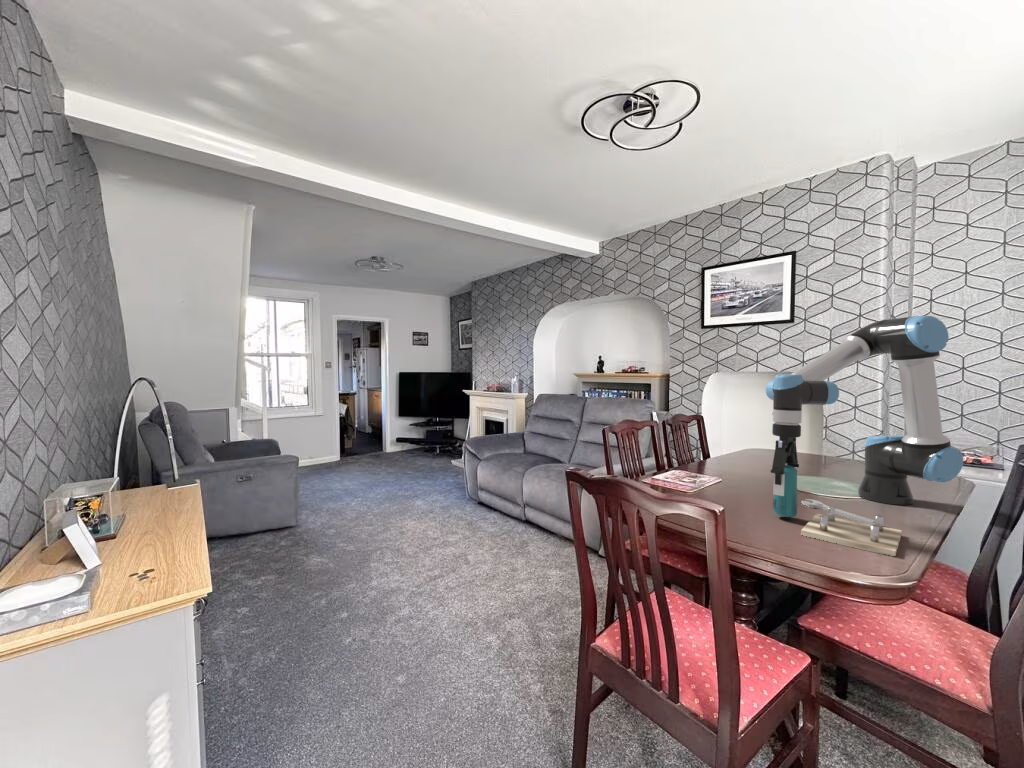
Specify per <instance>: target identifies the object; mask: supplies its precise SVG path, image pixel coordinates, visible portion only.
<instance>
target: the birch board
mask: <svg viewBox="0 0 1024 768" xmlns="http://www.w3.org/2000/svg"><path fill="white" fill-rule="evenodd" d="M820 515H821V514H819V513H816V514H814V516H812V518H811V519H810V520H809V521H808V522H807V523H806V524H805V526H803V528H802V529H801V530H800V536H801V535H803V536H802V537H806V536H807V538H810V537H811V539H814V538H816V539H815V540H819V539H820V541H823V540H824V541H823V542H827V541H828V543H832V544H836V543H837V544H836V545H841V546H846V547H849V548H853V547H854V549H858V550H862V551H863V550H864V551H867V552H870V553H871V552H872V553H876V554H879V553H880V555H884V554H886V555H885V556H888V555H890V557H892V556H897V553H898V550H897V549H899V546H900V543H901V538H902V534H903V533H902V532H903V531H902V530H901V529H897V528H891V527H887V526H883V532H880V531H879V542H878V543H876V542H872V541H870V525H871V524H866V523H862V522H859V521H856V520H852V519H845V518H841V517H836V516H835V522H831V521H828V531H821V530H820ZM899 542H900V543H899Z"/></svg>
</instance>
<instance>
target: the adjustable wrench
mask: <svg viewBox="0 0 1024 768" xmlns="http://www.w3.org/2000/svg"><path fill="white" fill-rule="evenodd" d="M801 503H802V504H803V505H806V506H808V507H807V508H809V507H811V508H810V509H815V508H819V509H818V510H821V509H823V510H822V511H825V510H827V511H826V512H828V507H831V506H829V505H827V504H824V503H823V502H821V501H819V500H816V499H809V498H805V499H804V500H801ZM802 504H801V505H802ZM803 505H802V506H803ZM806 506H805V507H806ZM834 508H835V515H837V514H838V515H837V516H840V515H841V517H843V516H844V518H848V519H849V520H852V521H856V522H861V523H866V524H871V525H875V519H871V518H868V517H864V516H861V515H858V514H855V513H851V512H849V511H845V510H843V509H839V508H836V507H834Z"/></svg>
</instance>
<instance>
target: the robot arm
mask: <svg viewBox="0 0 1024 768" xmlns="http://www.w3.org/2000/svg"><path fill="white" fill-rule="evenodd" d="M949 336H950V335H949V331H948V329H947V326H946V325H945V323H944V322H943V321H942V320H940V319H939V318H937V317H936V316H932V315H913V316H906V317H899V318H898V317H897V318H891V319H890V318H889V319H888V318H887V319H882V320H881V319H880V320H878V321H875V322H872V323H870V324H867V325H866V326H863V327H861V328H859V329H858V330H856V331H854V332H852V333H851V334H849V335H847V336H846V337H844V339H842V342H841V343H840V344H838V345H837V346H835V347H833V348H832V349H830V350H828V351H827V352H824V353H823V354H822V355H820V356H819V357H817V358H815V359H813V360H812V361H810V362H808V363H807V364H805V365H803V366H802V367H800V368H798V369H797V370H795V371H794V372H792V373H791V374H788V373H786V374H776V375H775V376H774V379H772V380H770V381H768V383H767V384H766V386H765V394H766V396H767V398H768V399H769V400H772V401H773V402H772V403H773V404H772V406H773V407H772V409H773V410H772V411H771V412H770V414H771V415H773V416H772V421H773V422H774V423H773V424H772V431H771V432H772V436H776V437H779V438H778V440H776V441H775V447H774V448H775V449H774V452H773V453H774V454H773V461H772V466H771V469H770V474H773V484H772V485H773V487H772V488H773V490H772V495H780V496H784V481H785V474H784V469H785V465H789V466H793V467H794V468H795V469H796V470H797V468H800V464H799V460H798V452H797V451H798V450H797V438H800V437H801V435H802V426H801V425H800V424H801V423H802V417H803V416H802V415H803V414H802V413H803V412H802V411H803V409H802V408H803V407H802V406H803V405H812V406H813V405H817V406H818V405H821V406H826V405H832V404H834V403H836V402H837V401H838V399H839V397H840V389H839V387H838V385H837V384H836V383H835V382H834V381H828V380H827V379H829V378H830V377H832V376H834V375H835V374H837V373H839V372H840V371H842V370H844V369H845V368H847V367H849V366H851V365H852V364H853V363H855V362H857V361H863V360H866V359H868V358H870V357H873V356H876V355H883V354H890V360H891V361H892V362H894V363H895V364H897V366H898V367H897V368H898V373H899V381H900V383H899V384H900V390H901V397H902V405H903V414H904V421H905V431H906V434H905V435H870V436H868V437H867V438H866V440H865V445H864V449H865V450H864V476H863V478H862V481H861V482H860V485H859V486H858V491H857V495H858V494H859V495H860V496H862V497H864V498H863V499H865V500H867V501H872V502H876V503H881V504H888V505H900V506H901V505H902V506H905V505H912V504H913V503H914V495H913V492H912V490H911V488H910V485H909V482H908V476H909V477H914V478H918V479H922V480H925V481H927V482H928V481H929V482H937V483H947V482H950V481H952V480H954V479H955V478H957V476H958V475H959V474H960V472H962V470H963V466H964V456H963V453H962V452H961V451H960V450H959V449H958V448H956V447H953V446H952V443H951V439H950V438H949V437H948V436H946V435H945V434H944V433H943V425H942V418H941V417H942V416H941V409H940V401H939V391H938V386H937V385H938V384H937V376H936V368H935V362H936V360H937V359H938V358H940V356H941V354H940V351H942V350H944V349H945V348H946V347H947V343H949V338H950V337H949ZM789 455H790V456H793V463H786V460H787V457H788V456H789ZM859 495H858V496H859ZM860 496H859V497H860ZM862 497H861V498H862Z"/></svg>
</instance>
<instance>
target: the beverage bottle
mask: <svg viewBox="0 0 1024 768" xmlns="http://www.w3.org/2000/svg"><path fill="white" fill-rule="evenodd" d="M786 463H793V456H790V455H789V456H788V457H787V460H786ZM795 468H796V467H795ZM795 468H794V467H793V466H789V465H787V464H786V465H785V469H784V474H785V481H784V496H780V495H774V494H772V496H773V502H772V507H773V508H772V509H773V512H774V514H776V515H777V516H781V517H786V518H793V517H797V516H798V515H797V514H798V498H799V497H798V469H797V468H796V469H795Z"/></svg>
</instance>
